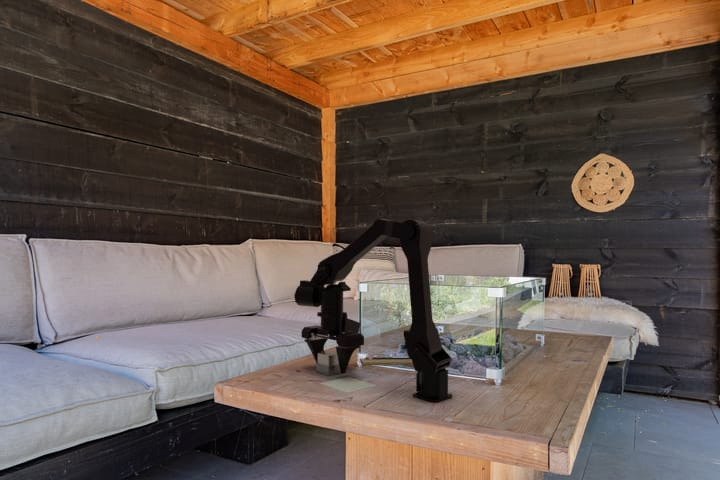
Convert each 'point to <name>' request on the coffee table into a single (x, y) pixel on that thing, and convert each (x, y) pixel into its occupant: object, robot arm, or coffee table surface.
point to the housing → (328, 363)
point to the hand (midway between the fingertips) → (331, 369)
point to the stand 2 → (348, 384)
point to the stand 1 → (333, 375)
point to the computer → (387, 361)
